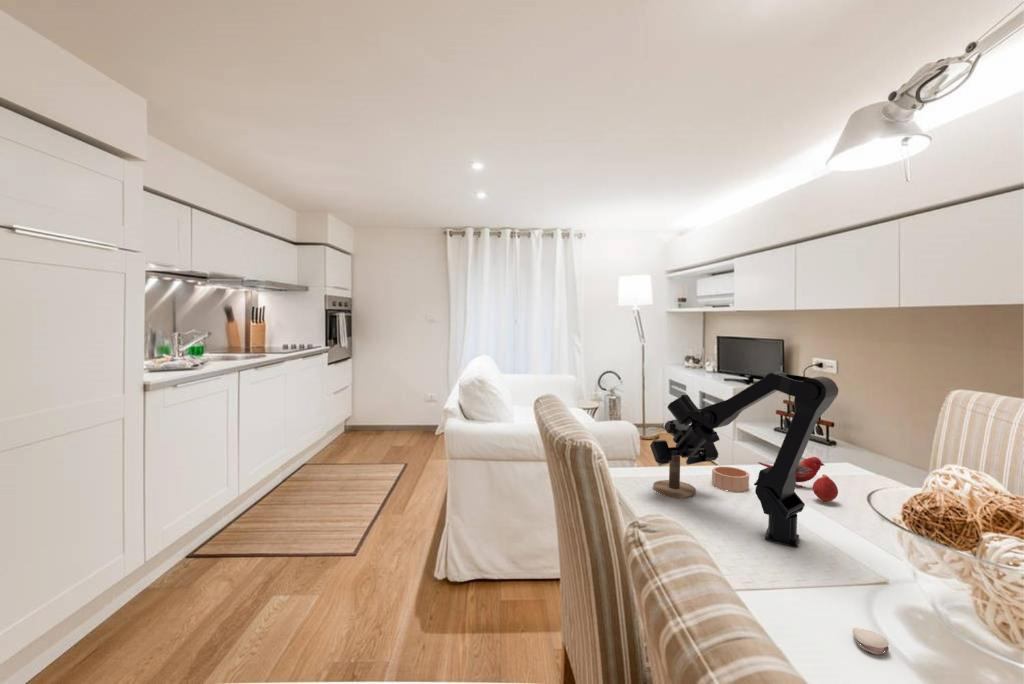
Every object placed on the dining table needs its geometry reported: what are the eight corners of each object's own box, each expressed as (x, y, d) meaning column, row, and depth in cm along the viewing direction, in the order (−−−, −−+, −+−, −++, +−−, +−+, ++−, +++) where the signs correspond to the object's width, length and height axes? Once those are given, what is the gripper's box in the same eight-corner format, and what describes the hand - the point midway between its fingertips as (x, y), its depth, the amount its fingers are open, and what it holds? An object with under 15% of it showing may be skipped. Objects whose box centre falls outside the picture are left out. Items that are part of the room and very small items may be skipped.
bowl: (745, 494, 132) (746, 479, 132) (709, 487, 138) (709, 472, 138) (750, 484, 140) (751, 470, 140) (715, 478, 146) (716, 464, 146)
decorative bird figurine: (824, 492, 134) (826, 459, 134) (757, 483, 142) (758, 451, 141) (823, 489, 137) (824, 456, 136) (756, 480, 144) (757, 449, 144)
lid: (690, 502, 127) (690, 462, 126) (647, 492, 134) (648, 455, 133) (700, 489, 136) (700, 452, 136) (660, 481, 143) (660, 446, 143)
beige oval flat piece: (871, 660, 68) (872, 644, 68) (841, 637, 73) (842, 622, 72) (895, 656, 68) (896, 640, 68) (863, 634, 73) (864, 619, 73)
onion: (829, 498, 129) (830, 471, 129) (842, 507, 124) (843, 478, 123) (808, 498, 130) (809, 470, 130) (819, 506, 124) (820, 477, 124)
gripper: (713, 411, 131) (691, 439, 142) (654, 413, 128) (635, 441, 139) (730, 445, 124) (705, 472, 135) (667, 448, 120) (647, 475, 132)
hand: (672, 464), depth 136 cm, fingers open, 9 cm apart
